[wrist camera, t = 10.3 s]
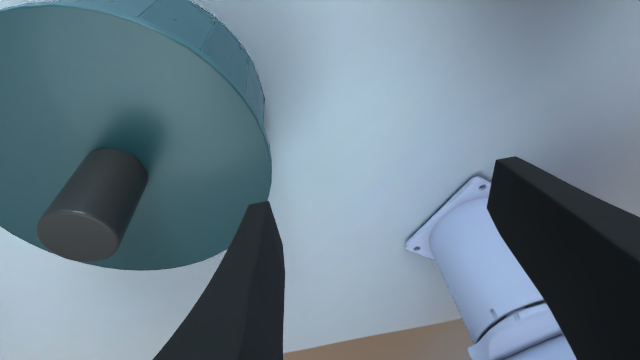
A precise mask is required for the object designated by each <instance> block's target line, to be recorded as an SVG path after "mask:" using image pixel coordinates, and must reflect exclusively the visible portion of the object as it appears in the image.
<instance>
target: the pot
mask: <svg viewBox="0 0 640 360" xmlns="http://www.w3.org/2000/svg"><path fill="white" fill-rule="evenodd" d="M57 2H70V3H84V4H90V5H95V6H100V7H105V8H110V9H114V10H117V11H121V12H124V13H127V14H130V15H133V16H136V17H139V18H142V19H144V20H147V21H149V22H151V23H153V24H155V25H158V26H160V27H162V28H164V29H167V30H169V31H170V32H172V33H174V34H175V35H177V36H179V37H180V38H182V39H184V40H186V41H187V42H189V43H191V44H192V45H193V46H195V47H196V48H197V49H199V50H200V51H202V52H203V53H204V54H206V55H207V56H208V57H210V58H211V59H212V60H213V61H214V62H215V63H217V64H218V65H219V66H220V67H221V68H222V69H223V70H224V71H225V72H226V73H227V74H228V75H229V76H230V77H231V78H232V79H233V80H234V81H235V83H236V84H237V85H238V86H239V87H240V89H241V90H242V91H243V92H244V93H245V95H246V96H247V98H248V99H249V101H250V103H251V104H252V106H253V107H254V109H255V110H256V112H257V114H258V116H259V118H260V121H261V123H262V125H263V124H264V101H265V98H264V94H263V92H262V88H261V84H260V81H259V77H258V74H257V72H256V70H255V67H254V65H253V63H252V61H251V59H250V57H249V55H248V54H247V52H246V51H245V49H244V48H243V46H242V45H241V44H240V43H239V41H238V40H237V39H236V37H235V36H234V35H233V34H232V33H231V32H230V31H229V30H228V29H227V28H226V27H225V26H224V25H223V24H222V23H221V22H220V21H218V20H217V19H216V18H215V17H213V16H212V15H211V14H210V13H208V12H207V11H205V10H204V9H202V8H200V7H199V6H197V5H196V4H194V3H192V2H190V1H188V0H58V1H57Z"/></svg>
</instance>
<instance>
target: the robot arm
mask: <svg viewBox="0 0 640 360" xmlns="http://www.w3.org/2000/svg"><path fill="white" fill-rule="evenodd" d="M481 185H482V186H481ZM480 186H481V187H480ZM405 247H406V249H407V250H408V251H411V252H413V253H416V254H419V255H421V256H424V257H427V258H429V259H432V260H435V261H436V262H437V264H438V266H439V269H440V271H441V273H442V275H443V277H444V280H445V282H446V284H447V286H448V288H449V291H450V293H451V295H452V297H453V299H454V302H455V304H456V306H457V308H458V310H459V313H460V315H461V317H462V319H463V321H464V324H465V326H466V328H467V330H468V332H469V335H470V337H471V339H472V341H473V343H474V345H473V346H471V347H469V348H468V349H467V351H468V353H469V355H470V357H471V360H640V217H638V216H636V215H633V214H631V213H629V212H626V211H624V210H622V209H620V208H618V207H615V206H613V205H611V204H609V203H607V202H605V201H602V200H600V199H598V198H596V197H594V196H592V195H590V194H588V193H586V192H584V191H582V190H580V189H578V188H576V187H574V186H572V185H570V184H568V183H566V182H565V181H563V180H561V179H559V178H557V177H555V176H553V175H551V174H549V173H547V172H546V171H544V170H542V169H540V168H538V167H536V166H534V165H532V164H530V163H528V162H526V161H524V160H522V159H520V158H518V157H516V156H515V157H509V158H504V159H498V160H496V162H495V167H494V172H493V177H492V182H491V183H490V182H489V181H487V180H485V179H483V178H481V177H473V178H472V179H470V180H469V181H468V182H467V183H466V184H465V185H464V186H463V187H462V188H461V189H460V190H459V191H458V192H457V193H456V194H455V195H454V196H453V197H452V198H451V199H450V200H449V201H448V202H447V203H446V204H445V205H444V206H443V207H442V208H441V209H440V210H439V211H438V212H436V213H435V214H434V215H433V216H432V217H431V218H430V219H429V220H428V221H427V222H426V223H425V224H424V225H423V226H422V227H421V228H420V229H419V230H418V231H417V232H416V233H415V234H414V235H413V236H412V237H411V238H410V239H409V240H408V241H407V242H406V243H405ZM284 288H285V268H284V255H283V244H282V241H281V238H280V235H279V232H278V228H277V225H276V222H275V219H274V216H273V213H272V210H271V206H270V203H269V201H265V202H259V203H254V204H250V205H249V206H248V207H247V209H246V212H245V214H244V216H243V219H242V221H241V223H240V225H239V228H238V230H237V232H236V234H235V236H234V238H233V240H232V242H231V244H230V246H229V248H228V250H227V252H226V254H225V256H224V258H223V260H222V262H221V263H220V265H219V267H218V269H217V270H216V272H215V274H214V275H213V277H212V279H211V281H210V282H209V284H208V286H207V287H206V289H205V290H204V292H203V293H202V295H201V297H200V298H199V300H198V301H197V303H196V304H195V305H194V307H193V308H192V310H191V311H190V313H189V314H188V316H187V317H186V318H185V320H184V321H183V322H182V324H181V325H180V326H179V328H178V329H177V330H176V331H175V333H174V334H173V335H172V337H171V338H170V339H169V341H168V342H167V343H166V344H165V346H164V347H163V348H162V349H161V350H160V352H159V353H158V354H157V355H156V356H155V357H154V359H153V360H283V317H284Z"/></svg>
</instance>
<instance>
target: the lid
mask: <svg viewBox="0 0 640 360" xmlns="http://www.w3.org/2000/svg"><path fill="white" fill-rule="evenodd" d="M271 175H272V160H271V153H270V146H269V143H268V139H267V136H266V133H265V129H264V127H263V125H262V123H261V121H260V118H259V116H258V114H257V112H256V110H255V109H254V107H253V106H252V104H251V103H250V101H249V99H248V98H247V96H246V95H245V93H244V92H243V91H242V90H241V89H240V87H239V86H238V85H237V84H236V83H235V81H234V80H233V79H232V78H231V77H230V76H229V75H228V74H227V73H226V72H225V71H224V70H223V69H222V68H221V67H220V66H219V65H218V64H217V63H215V62H214V61H213V60H212V59H211V58H210V57H208V56H207V55H206V54H204V53H203V52H202V51H200V50H199V49H197V48H196V47H195V46H193V45H192V44H191V43H189V42H187V41H186V40H184V39H182V38H180V37H179V36H177V35H175V34H174V33H172V32H170V31H169V30H167V29H164V28H162V27H160V26H158V25H155V24H153V23H151V22H149V21H147V20H144V19H142V18H139V17H136V16H133V15H130V14H127V13H124V12H121V11H117V10H114V9H110V8H105V7H100V6H95V5H90V4H84V3H70V2H57V1H56V2H40V3H27V4H22V5H18V6H13V7H8V8H4V9H1V10H0V226H1V227H2V228H4V229H5V230H7V231H8V232H10V233H12V234H13V235H15V236H17V237H19V238H21V239H23V240H24V241H26V242H28V243H30V244H32V245H35V246H37V247H39V248H41V249H44V250H46V251H48V252H51V253H54V254H56V255H59V256H61V257H63V258H66V259H70V260H74V261H78V262H82V263H86V264H90V265H95V266H100V267H106V268H114V269H122V270H161V269H170V268H176V267H181V266H186V265H190V264H193V263H197V262H200V261H203V260H205V259H208V258H210V257H213V256H215V255H217V254H219V253H221V252H223V251H224V250H226V249H228V248H229V246H230V244H231V242H232V240H233V238H234V236H235V234H236V232H237V230H238V228H239V225H240V223H241V221H242V219H243V216H244V214H245V212H246V209H247V207H248V206H249V205H250V204H254V203H259V202H265V201H267V199H268V196H269V192H270V186H271Z"/></svg>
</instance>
